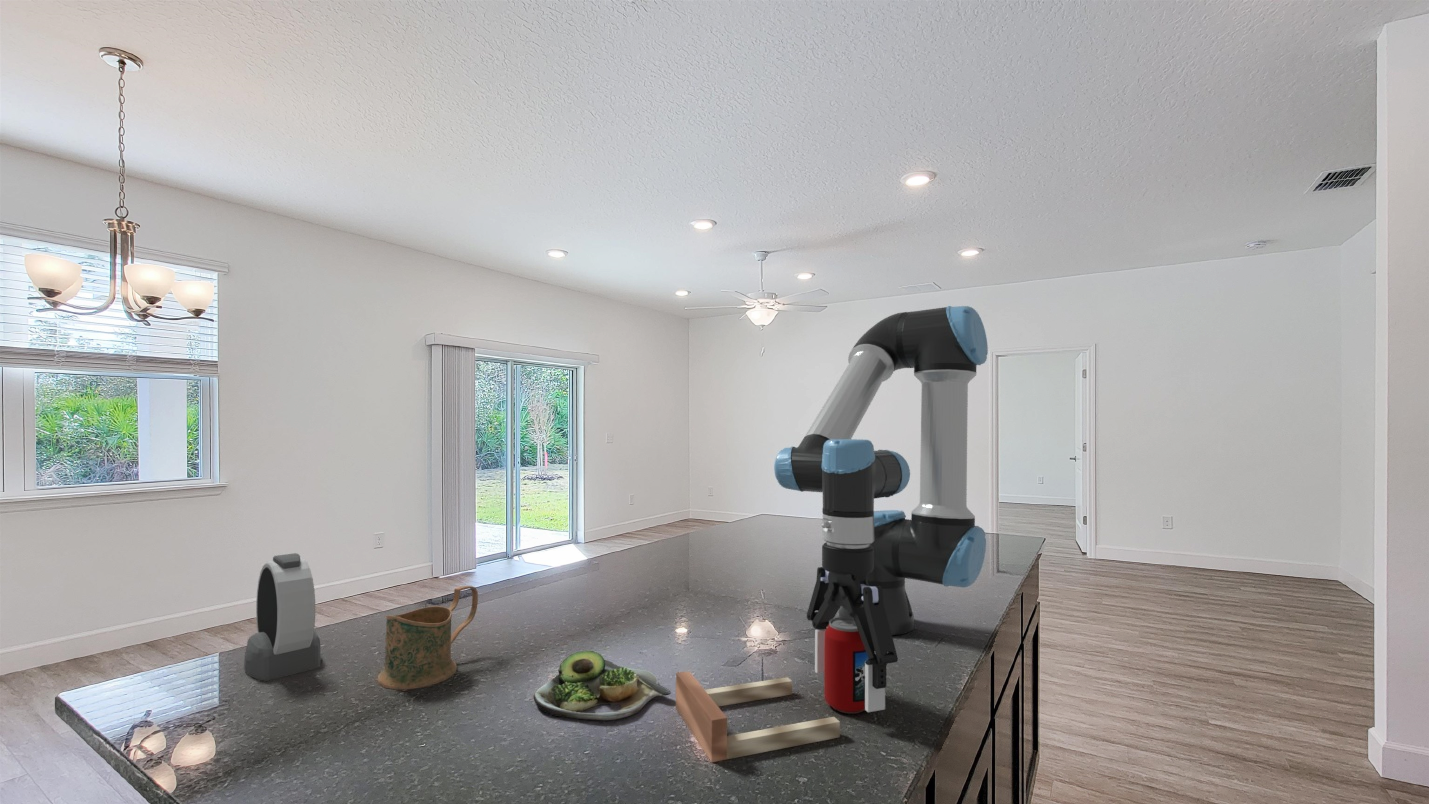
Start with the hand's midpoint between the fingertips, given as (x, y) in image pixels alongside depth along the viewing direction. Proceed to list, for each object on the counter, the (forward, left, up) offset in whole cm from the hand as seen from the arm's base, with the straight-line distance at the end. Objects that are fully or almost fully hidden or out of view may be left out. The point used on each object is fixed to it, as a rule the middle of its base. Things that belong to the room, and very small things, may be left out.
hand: (847, 689), depth 89 cm
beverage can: (0, 0, -2) cm, 2 cm away
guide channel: (+15, 0, -2) cm, 15 cm away
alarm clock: (+82, -45, -3) cm, 94 cm away
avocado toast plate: (+34, -16, -3) cm, 38 cm away
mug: (+58, -35, -3) cm, 68 cm away
